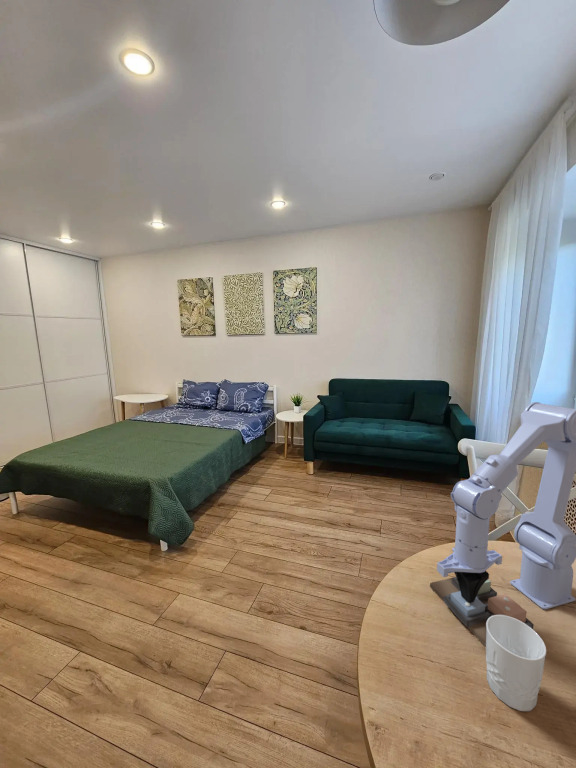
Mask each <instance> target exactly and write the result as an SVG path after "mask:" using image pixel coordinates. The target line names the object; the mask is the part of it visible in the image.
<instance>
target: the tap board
mask: <svg viewBox="0 0 576 768" xmlns="http://www.w3.org/2000/svg"><path fill="white" fill-rule="evenodd" d="M429 587H430V589H431V590H432V591H433V592H435V594H436V595H437V596H438V597H439V598H440V599H441V601H443V602H444V604H445V605H446V606H447V607H448V608H449V609H450V611H451V612H452V613H453V614H454V615H455V616H456V617H457V618H458V619H459V621H461V622H462V623H463V625H464V626H465V628H467V629H468V630H469V631H470V632H471V634H473V636H474V637H475V638H476V639H477V640H478V641H479V642H480V644H482V645H483V647H484V648H486V622H487V620H488V618H489V617H491V616H493V614H492V613H491V612H490V611H489V610H488V598H491V597H495V596H498V592H497V591H496V590H495V589H493V588H492V586H491V587H490V592H487V593H483V594H479V595H477V596H476V597H477V598H478V599H479V600H480V601H481V602H482V603H483V604H484V605H485V613H481V614H478V615H474V616H470V617H466V616H465V615H464V614H463V613H462V612H461V610H460V609H459V608H458V607H457V606H456V605H455V604H454V603H453V602H452V601H451V600H450V597H451V593H455V592H459V591H460V587H459V583H458V580H457V577H456V576H452V577H450V578H446V579H441V580H435V581H433V582H430V583H429ZM525 624H526V625H528V626H529V627H530V628H532V629H533V630H534V625H535V624H534V623H533V622H532V620H530V619H528V618H527V617H526V623H525Z"/></svg>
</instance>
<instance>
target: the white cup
mask: <svg viewBox="0 0 576 768" xmlns="http://www.w3.org/2000/svg"><path fill="white" fill-rule="evenodd" d="M546 656H547V647H546V644H545V642H544V640H543V639H542V637H541V636H540V635H539V634H538V633H537V632H536V631H535V630H534V628H533V629H532V628H530V627H529V626H528V625H526V624H525V623H523V622H521V621H519V620H517V619H515V618H512V617H509V616H505V615H493V616H491V617H489V618H488V620H487V622H486V647H485V661H486V680H487V683H488V685H489V689H490V690H491V691H492V693H493V694H494V695H495V696H496V697H497V698H498V700H501V702H503V703H504V704H505V705H506V706H508V707H509V708H512V709H515V710H517V711H519V712H531V711H532V710H533V709H534V708H535V707H537V702H538V694H539V692H540V689H541V683H542V680H543V679H542V678H543V676H544V675H543V674H544V668H545V660H546V658H547V657H546Z"/></svg>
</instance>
